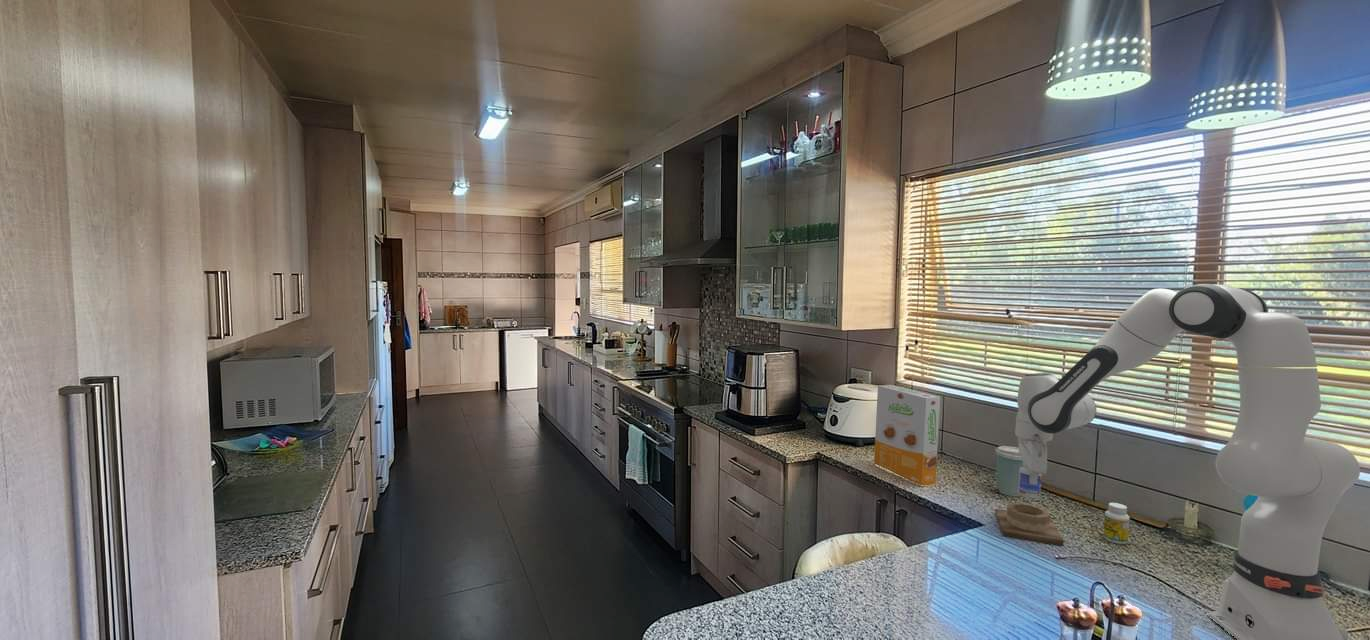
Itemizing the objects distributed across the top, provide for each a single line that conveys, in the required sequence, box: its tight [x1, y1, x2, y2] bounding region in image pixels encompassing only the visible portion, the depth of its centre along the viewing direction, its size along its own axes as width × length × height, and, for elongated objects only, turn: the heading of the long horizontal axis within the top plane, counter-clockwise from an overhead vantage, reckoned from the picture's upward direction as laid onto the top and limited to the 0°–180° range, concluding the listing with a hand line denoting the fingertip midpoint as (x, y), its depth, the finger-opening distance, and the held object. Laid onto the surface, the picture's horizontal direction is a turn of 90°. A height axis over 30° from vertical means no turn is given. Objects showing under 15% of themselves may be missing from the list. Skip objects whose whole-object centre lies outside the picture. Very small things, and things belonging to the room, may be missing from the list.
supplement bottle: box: [1102, 502, 1131, 545], centre depth 154 cm, size 5×5×10 cm
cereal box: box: [873, 384, 941, 485], centre depth 201 cm, size 22×6×30 cm, turn 24°
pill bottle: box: [1018, 459, 1043, 499], centre depth 159 cm, size 5×5×10 cm
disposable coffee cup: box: [994, 445, 1023, 498], centre depth 187 cm, size 11×11×15 cm
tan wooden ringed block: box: [994, 502, 1065, 547], centre depth 160 cm, size 16×14×6 cm
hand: (1030, 479), depth 159 cm, fingers closed on pill bottle, 5 cm apart
